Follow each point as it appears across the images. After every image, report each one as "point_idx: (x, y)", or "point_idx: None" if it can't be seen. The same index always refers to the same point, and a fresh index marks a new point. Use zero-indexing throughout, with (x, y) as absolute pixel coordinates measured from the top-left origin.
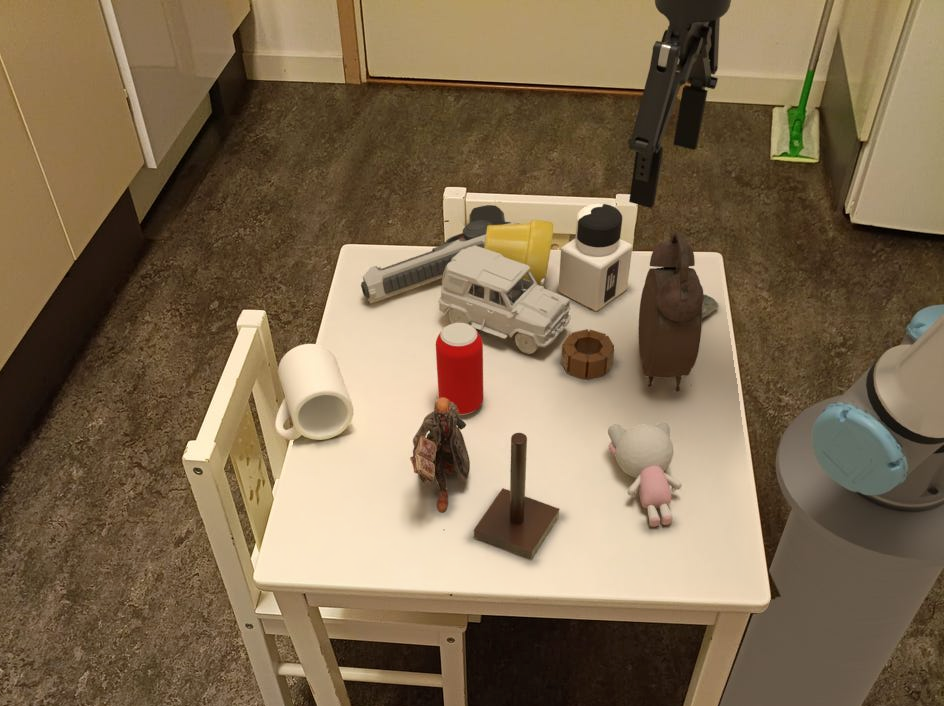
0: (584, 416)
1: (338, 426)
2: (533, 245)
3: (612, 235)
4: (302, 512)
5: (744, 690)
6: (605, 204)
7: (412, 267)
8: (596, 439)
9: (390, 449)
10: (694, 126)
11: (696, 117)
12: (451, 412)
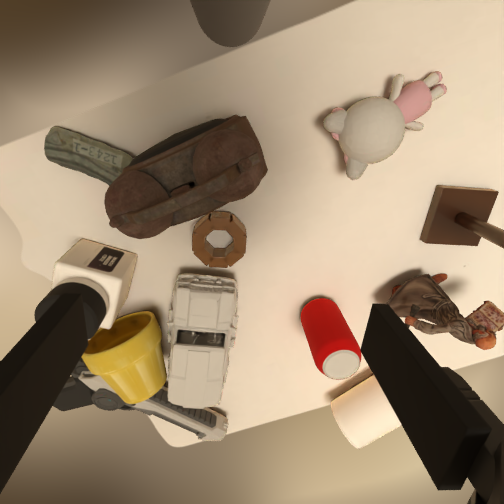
0: (298, 209)
1: None
2: (138, 356)
3: (83, 293)
4: (459, 357)
5: (261, 12)
6: None
7: (188, 418)
8: (326, 187)
9: None
10: (52, 344)
11: (36, 364)
12: (470, 328)
